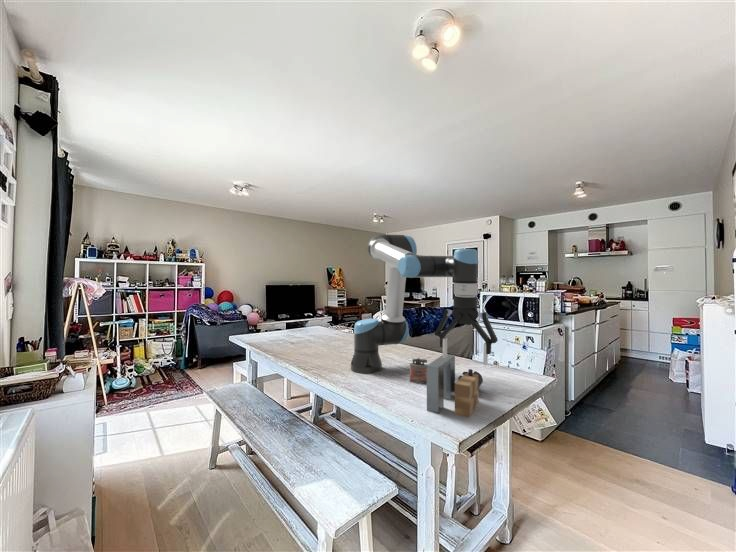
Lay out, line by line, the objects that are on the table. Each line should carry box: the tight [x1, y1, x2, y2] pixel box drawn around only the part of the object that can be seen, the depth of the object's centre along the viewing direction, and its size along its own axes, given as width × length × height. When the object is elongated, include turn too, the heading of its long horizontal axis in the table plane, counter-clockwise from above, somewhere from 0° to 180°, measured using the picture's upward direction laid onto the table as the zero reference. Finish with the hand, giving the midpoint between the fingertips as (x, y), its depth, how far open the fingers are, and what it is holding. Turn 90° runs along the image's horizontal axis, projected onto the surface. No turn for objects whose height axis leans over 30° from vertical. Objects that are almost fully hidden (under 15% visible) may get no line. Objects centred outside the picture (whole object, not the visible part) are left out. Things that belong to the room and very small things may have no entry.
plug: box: [454, 368, 480, 418], centre depth 105 cm, size 13×4×12 cm, turn 147°
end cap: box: [457, 370, 484, 388], centre depth 120 cm, size 10×7×7 cm
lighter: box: [409, 357, 428, 385], centre depth 131 cm, size 8×3×10 cm, turn 68°
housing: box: [426, 353, 456, 414], centre depth 110 cm, size 4×18×15 cm, turn 148°
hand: (464, 360), depth 103 cm, fingers open, 13 cm apart
